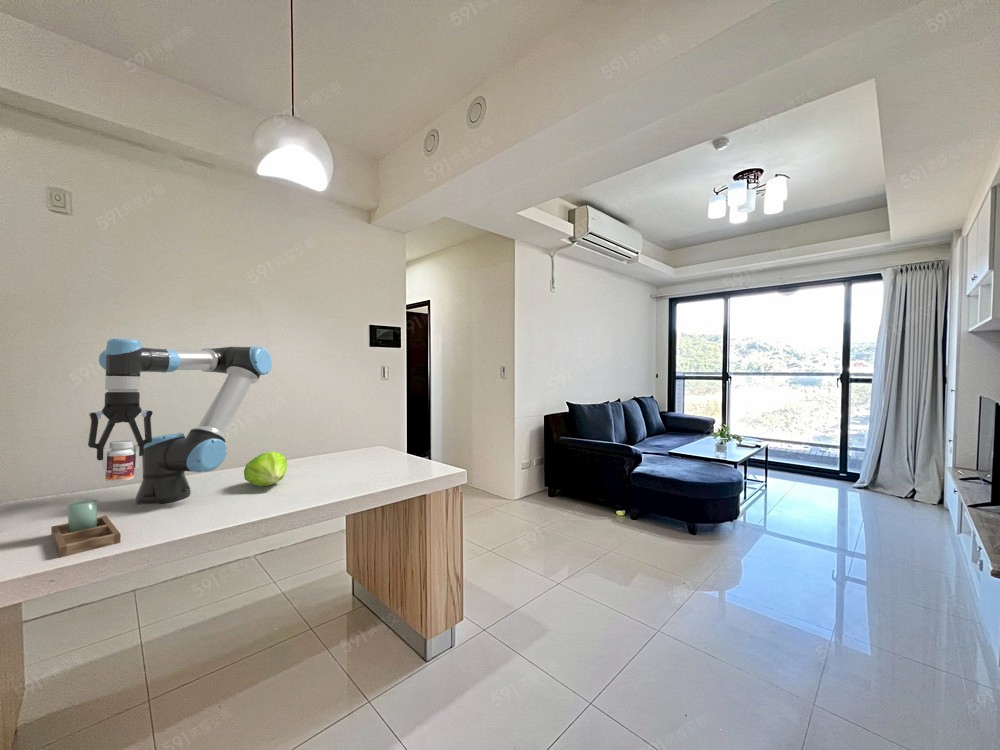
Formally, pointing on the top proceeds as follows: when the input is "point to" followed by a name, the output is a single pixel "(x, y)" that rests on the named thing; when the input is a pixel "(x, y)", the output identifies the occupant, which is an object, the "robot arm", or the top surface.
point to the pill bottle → (120, 461)
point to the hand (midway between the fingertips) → (120, 469)
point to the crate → (84, 537)
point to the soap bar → (82, 515)
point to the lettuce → (266, 469)
